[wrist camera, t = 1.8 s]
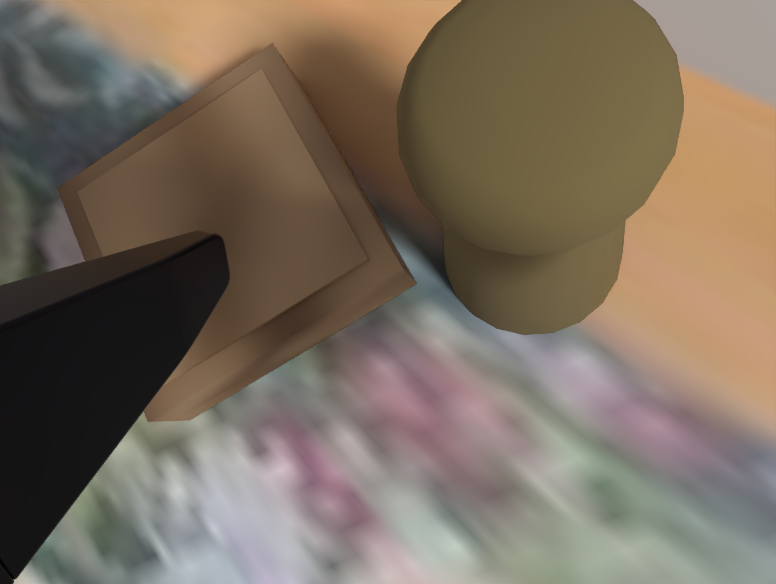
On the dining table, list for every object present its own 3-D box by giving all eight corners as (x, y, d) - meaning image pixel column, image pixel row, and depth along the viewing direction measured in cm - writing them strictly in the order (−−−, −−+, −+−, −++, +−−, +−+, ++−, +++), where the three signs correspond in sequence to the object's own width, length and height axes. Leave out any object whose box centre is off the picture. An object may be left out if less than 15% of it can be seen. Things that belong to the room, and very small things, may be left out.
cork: (426, 193, 21) (327, -19, 11) (593, 145, 20) (666, -145, 9) (465, 353, 20) (393, 292, 9) (646, 310, 18) (803, 185, 8)
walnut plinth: (189, 420, 21) (144, 421, 19) (103, 209, 24) (54, 186, 22) (416, 283, 20) (401, 266, 18) (298, 80, 23) (270, 40, 21)
